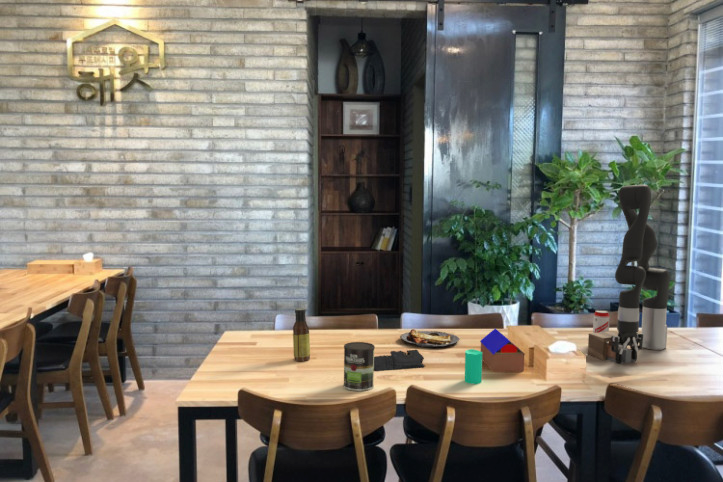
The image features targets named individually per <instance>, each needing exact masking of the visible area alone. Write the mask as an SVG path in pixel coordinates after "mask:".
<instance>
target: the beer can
mask: <svg viewBox="0 0 723 482" xmlns="http://www.w3.org/2000/svg"><path fill="white" fill-rule="evenodd" d="M610 317H611V316H610V314H609V311H608V310H603V309H597V310H595V312H594V313H593V322H592V333H598V332H607V331H610ZM607 343H609V342H607Z"/></svg>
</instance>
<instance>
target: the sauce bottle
mask: <svg viewBox="0 0 723 482" xmlns="http://www.w3.org/2000/svg"><path fill="white" fill-rule="evenodd" d="M306 310H307V309H306V308H303V307H299V308H297V307H296V308H295V309H294V314H295V322H294V323H293V327H292V340H293V342H292V344H293V358H294V361H297V362H299V363H300V362H307V361H309V360H310V359H311V357H310V356H311V343H310V329H309V326H308V324H307V321H306V320H307V319H306V312H307V311H306Z"/></svg>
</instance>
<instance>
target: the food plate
mask: <svg viewBox="0 0 723 482" xmlns="http://www.w3.org/2000/svg"><path fill="white" fill-rule="evenodd" d="M399 337H400V339H401V340H402V341H403V342H405V343H406V342H407V343H409V344H414V345H416V346H418V347H422V348H425V347H426V348H427V347H429V348H431V347H433V348H435V347H438V348H439V347H445V346H449V345H452V344H455V343H457V342H459V341H460V340H461V339H460V337H459V336H458V335H455V334H452V333H448V332H445V331H436V330H433V331H432V330H415V329H411V330H410V331H408V332H405V333H403V334H401V335H400V336H399Z"/></svg>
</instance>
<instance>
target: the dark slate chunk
mask: <svg viewBox="0 0 723 482" xmlns="http://www.w3.org/2000/svg"><path fill="white" fill-rule="evenodd" d="M424 359H425V357H424V356H423V355H422V354H421V353H420V352H419V350H418V349H408V350H406V352H405V351H403V350H397V351H395V350H391V351H390V354H389V355H378V356H377V355H376V356H374V371H375V372H384V371H385V372H386V371H387V372H389V371H398V370H399V371H401V370H411V369H423V368H425V367H426V365H425V364H423V362H424Z"/></svg>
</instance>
